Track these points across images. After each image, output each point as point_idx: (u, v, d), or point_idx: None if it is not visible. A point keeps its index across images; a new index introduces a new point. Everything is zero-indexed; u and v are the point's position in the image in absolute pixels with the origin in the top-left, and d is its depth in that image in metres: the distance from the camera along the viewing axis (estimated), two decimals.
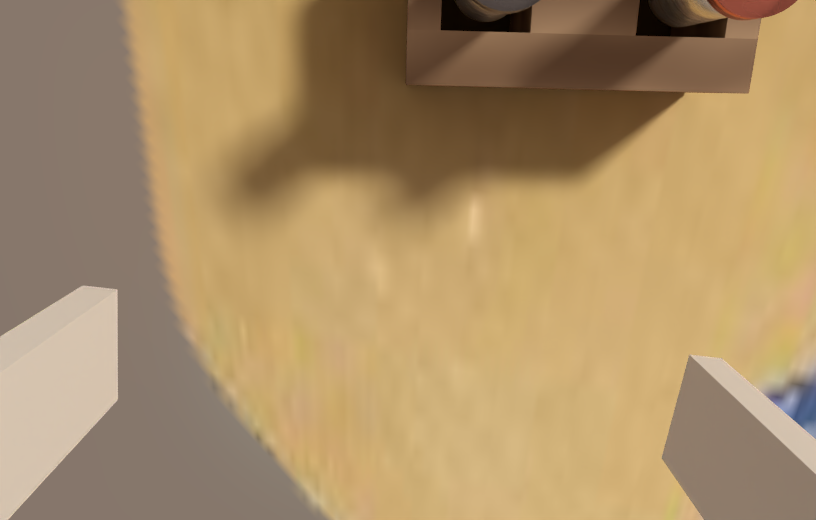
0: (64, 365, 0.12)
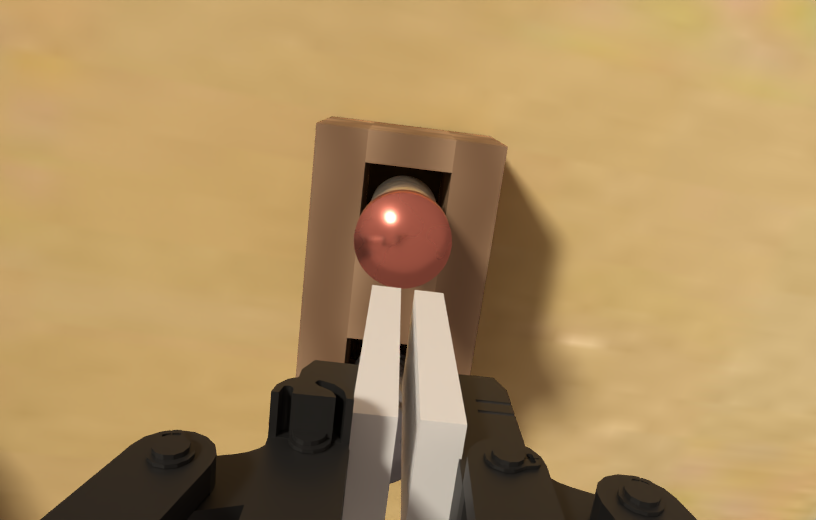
0: None
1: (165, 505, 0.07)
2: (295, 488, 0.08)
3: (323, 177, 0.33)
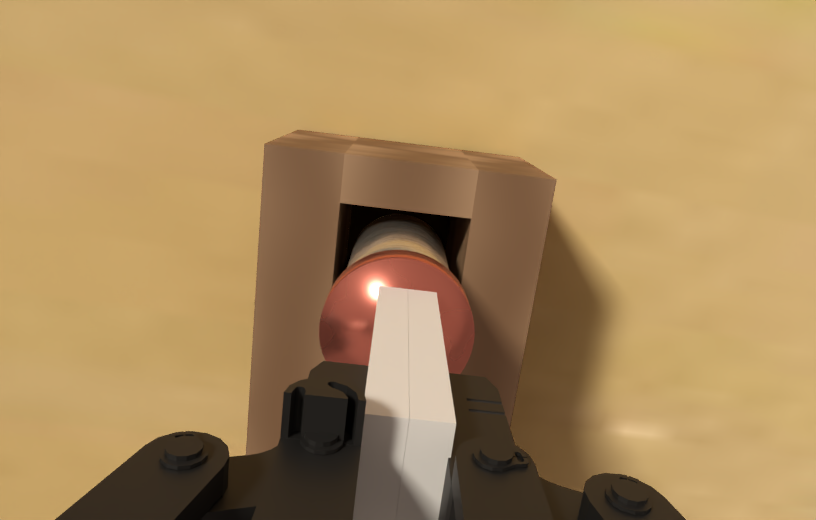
0: None
1: (178, 506, 0.07)
2: (307, 489, 0.08)
3: (277, 225, 0.22)
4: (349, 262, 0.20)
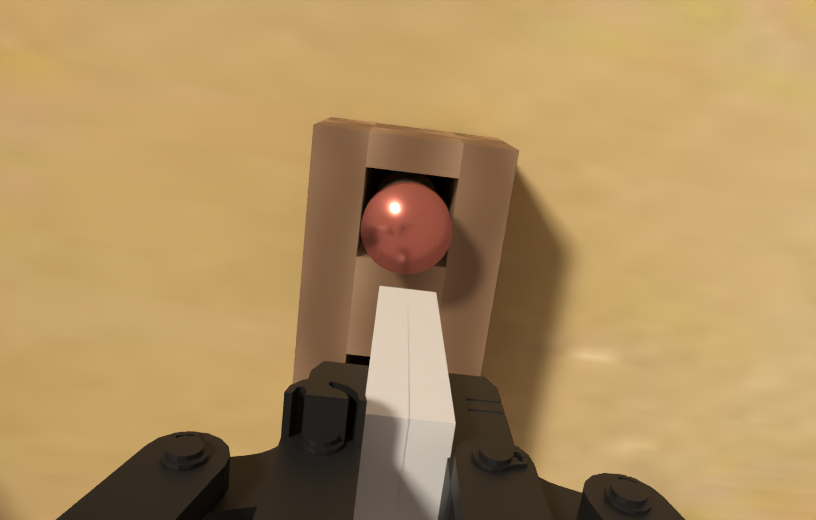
0: None
1: (179, 507, 0.07)
2: (308, 489, 0.08)
3: (321, 183, 0.30)
4: None
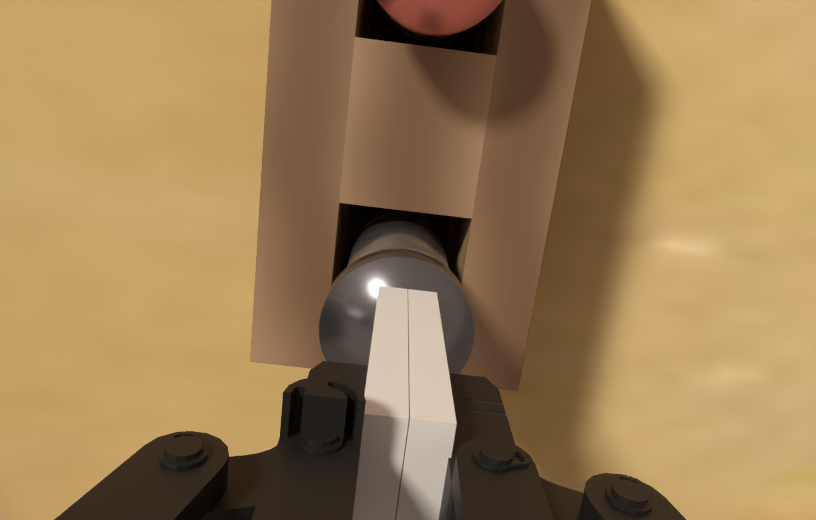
0: None
1: (178, 507, 0.07)
2: (306, 489, 0.08)
3: None
4: None
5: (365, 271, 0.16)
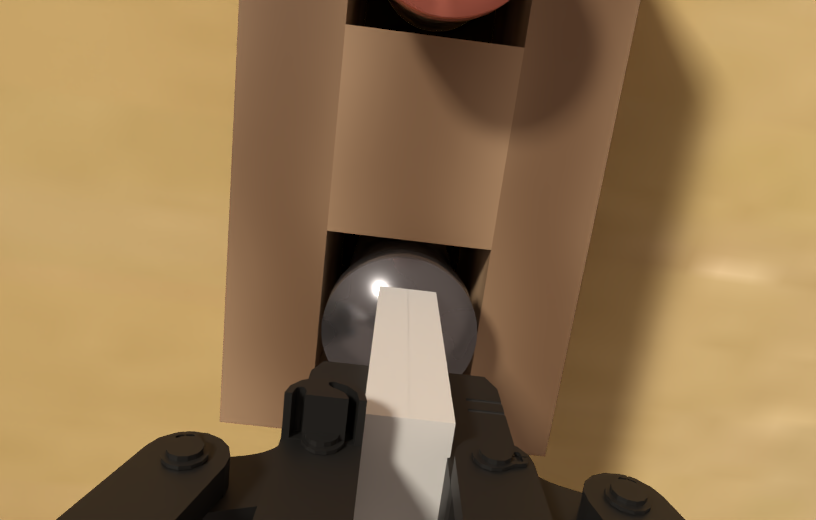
0: None
1: (179, 507, 0.07)
2: (308, 489, 0.08)
3: None
4: None
5: (368, 271, 0.16)
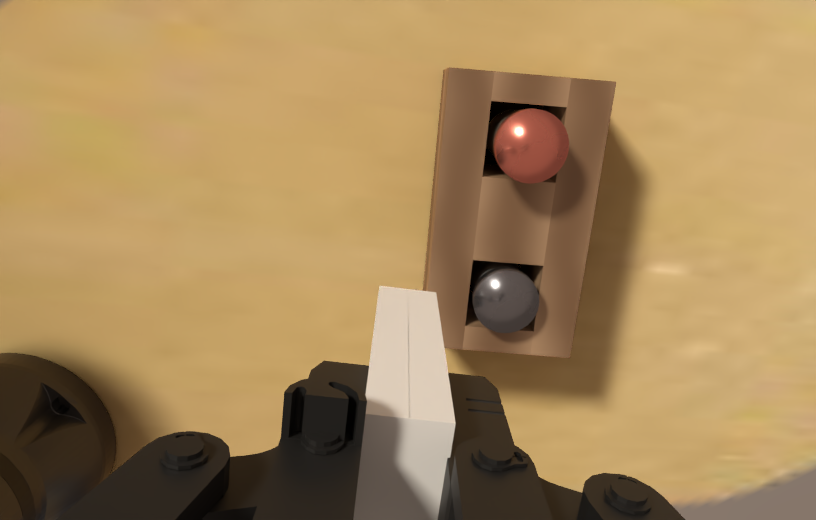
0: None
1: (179, 507, 0.07)
2: (307, 489, 0.08)
3: (454, 116, 0.37)
4: (494, 128, 0.39)
5: (493, 276, 0.39)
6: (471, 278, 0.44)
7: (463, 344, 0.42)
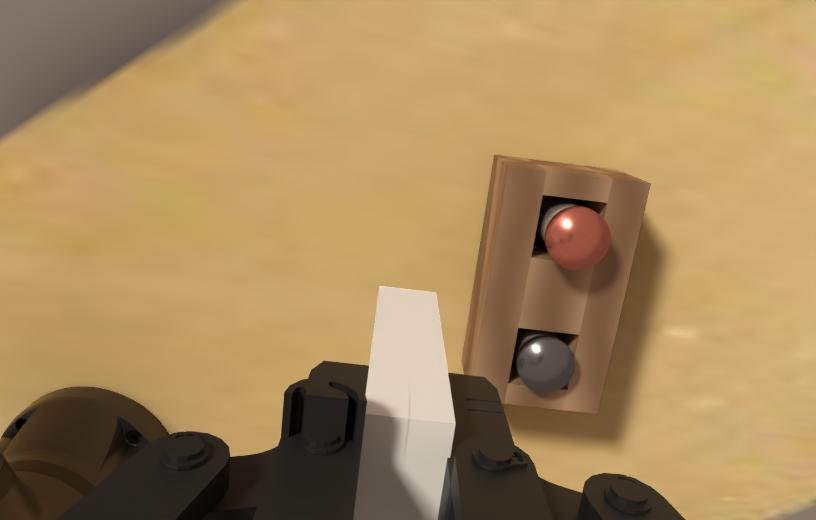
0: None
1: (179, 507, 0.07)
2: (308, 489, 0.08)
3: (510, 206, 0.43)
4: (542, 215, 0.45)
5: (537, 344, 0.45)
6: None
7: (505, 399, 0.47)
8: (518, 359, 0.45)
